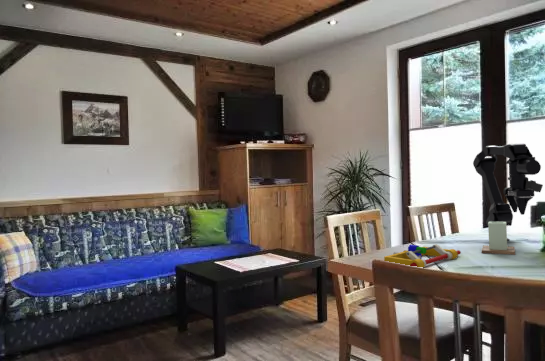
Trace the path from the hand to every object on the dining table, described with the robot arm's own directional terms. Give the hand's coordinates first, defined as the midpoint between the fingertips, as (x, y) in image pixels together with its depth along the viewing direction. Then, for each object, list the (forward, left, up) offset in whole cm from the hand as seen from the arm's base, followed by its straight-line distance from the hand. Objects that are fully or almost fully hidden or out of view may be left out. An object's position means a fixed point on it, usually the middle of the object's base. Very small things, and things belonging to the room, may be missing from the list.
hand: (518, 213), depth 170 cm
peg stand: (+12, -11, -13) cm, 21 cm away
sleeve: (+12, -11, -12) cm, 20 cm away
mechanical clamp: (+28, -41, -14) cm, 52 cm away
